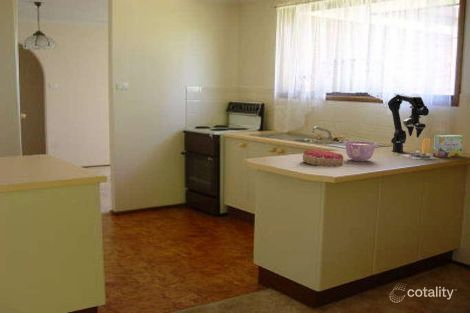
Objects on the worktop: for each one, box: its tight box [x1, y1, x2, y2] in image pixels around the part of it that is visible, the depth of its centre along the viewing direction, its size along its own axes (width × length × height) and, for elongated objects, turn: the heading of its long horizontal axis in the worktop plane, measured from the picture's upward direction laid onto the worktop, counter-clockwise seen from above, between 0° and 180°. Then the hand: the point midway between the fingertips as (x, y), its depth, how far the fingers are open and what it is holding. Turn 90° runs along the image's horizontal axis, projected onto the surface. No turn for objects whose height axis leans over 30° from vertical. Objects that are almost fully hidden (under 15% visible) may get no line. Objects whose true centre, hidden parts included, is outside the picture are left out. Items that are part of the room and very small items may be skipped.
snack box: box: [432, 134, 464, 158], centre depth 364 cm, size 21×6×15 cm, turn 112°
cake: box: [302, 148, 344, 167], centre depth 324 cm, size 25×25×8 cm
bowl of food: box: [344, 140, 377, 162], centre depth 338 cm, size 20×20×12 cm
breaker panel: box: [400, 150, 439, 161], centre depth 357 cm, size 18×17×4 cm
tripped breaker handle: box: [420, 138, 431, 154], centre depth 356 cm, size 3×4×10 cm
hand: (413, 136), depth 367 cm, fingers open, 9 cm apart
